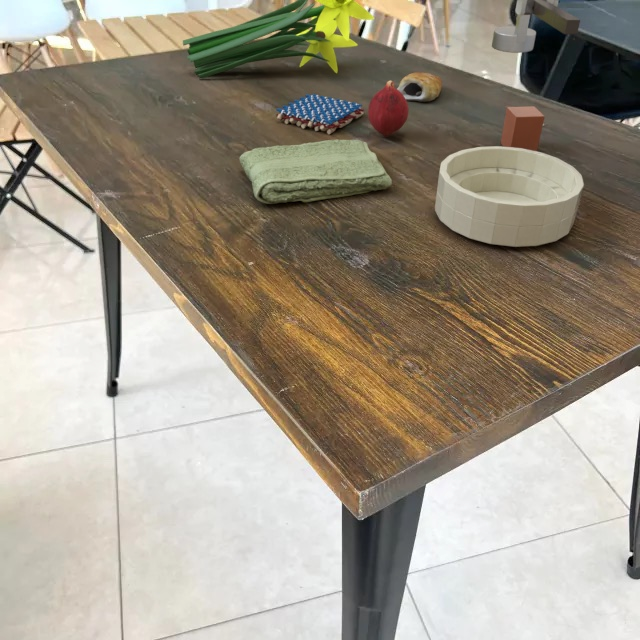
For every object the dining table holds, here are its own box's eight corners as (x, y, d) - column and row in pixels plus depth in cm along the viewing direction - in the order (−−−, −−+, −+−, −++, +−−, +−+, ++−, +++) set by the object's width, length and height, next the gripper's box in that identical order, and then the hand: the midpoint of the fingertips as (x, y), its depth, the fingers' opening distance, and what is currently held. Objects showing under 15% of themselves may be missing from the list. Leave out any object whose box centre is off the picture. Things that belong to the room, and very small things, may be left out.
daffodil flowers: (201, 62, 129) (372, 10, 125) (211, 121, 124) (389, 69, 120) (167, -5, 114) (360, -67, 110) (176, 60, 108) (379, -3, 104)
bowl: (541, 185, 83) (551, 144, 79) (594, 248, 70) (608, 202, 67) (421, 190, 81) (426, 148, 78) (454, 254, 69) (461, 208, 66)
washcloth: (396, 193, 81) (398, 168, 79) (257, 211, 77) (256, 186, 75) (361, 153, 91) (362, 130, 89) (237, 167, 87) (235, 144, 85)
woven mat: (331, 136, 96) (331, 123, 94) (273, 122, 100) (273, 109, 99) (366, 116, 103) (367, 103, 101) (311, 103, 107) (310, 91, 106)
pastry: (414, 84, 116) (416, 62, 113) (450, 90, 113) (453, 67, 111) (393, 99, 109) (395, 75, 107) (430, 106, 107) (433, 82, 104)
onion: (408, 144, 93) (413, 87, 89) (368, 143, 93) (371, 87, 89) (403, 129, 98) (408, 75, 93) (365, 129, 98) (368, 75, 93)
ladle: (486, 42, 85) (494, -14, 81) (525, 41, 85) (535, -15, 81) (536, 86, 70) (549, 20, 66) (582, 85, 71) (598, 19, 67)
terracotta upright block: (526, 142, 94) (534, 106, 91) (536, 153, 91) (544, 116, 88) (500, 143, 94) (506, 106, 91) (509, 154, 91) (516, 116, 88)
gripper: (472, -129, 64) (454, 21, 72) (670, -129, 66) (630, 18, 74) (456, -132, 69) (441, 9, 77) (640, -132, 71) (606, 6, 79)
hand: (535, 14), depth 76 cm, fingers closed on ladle
